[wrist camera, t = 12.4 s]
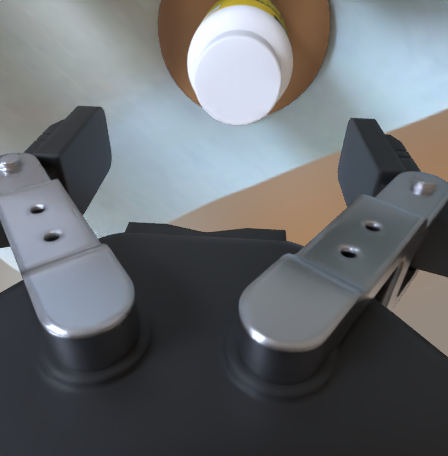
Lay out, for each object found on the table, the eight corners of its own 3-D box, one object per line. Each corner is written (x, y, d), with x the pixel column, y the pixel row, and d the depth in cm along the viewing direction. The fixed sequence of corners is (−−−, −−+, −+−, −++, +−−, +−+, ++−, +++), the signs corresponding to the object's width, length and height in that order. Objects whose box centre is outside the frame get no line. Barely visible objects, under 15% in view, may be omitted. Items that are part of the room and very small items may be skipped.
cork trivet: (165, 112, 30) (164, 115, 29) (152, -73, 23) (150, -73, 23) (314, 119, 29) (315, 122, 29) (345, -68, 22) (347, -68, 22)
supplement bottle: (304, 31, 25) (324, 78, 17) (247, 96, 28) (243, 162, 20) (239, -35, 23) (229, -13, 16) (185, 42, 26) (154, 92, 18)
